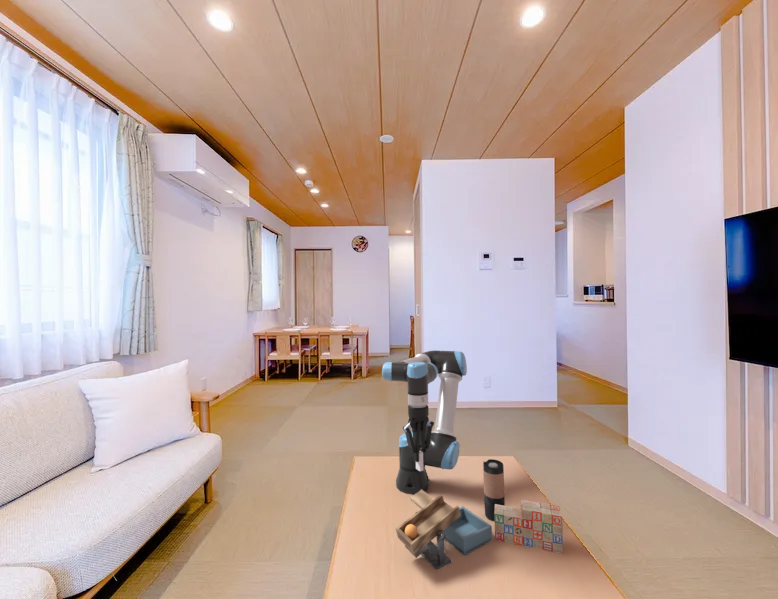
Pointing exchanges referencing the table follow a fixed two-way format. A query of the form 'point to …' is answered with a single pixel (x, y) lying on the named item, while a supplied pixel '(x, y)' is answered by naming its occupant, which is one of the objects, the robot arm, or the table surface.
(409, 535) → the ball
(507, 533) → the stack of blocks
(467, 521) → the tub
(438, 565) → the stand
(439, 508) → the chute
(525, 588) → the table surface
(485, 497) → the travel mug
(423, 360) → the robot arm
